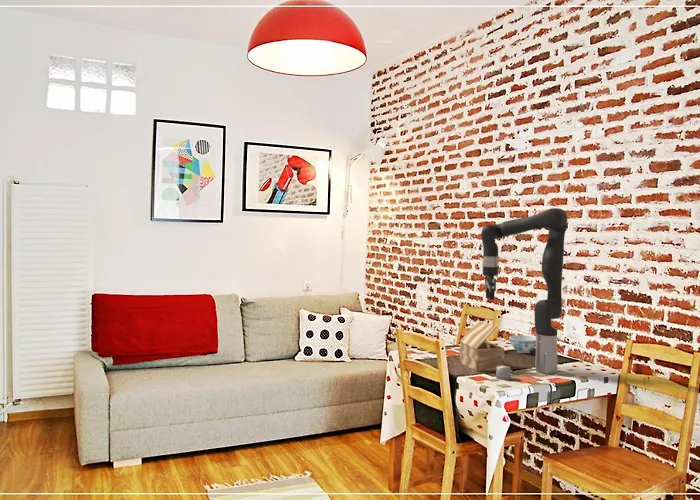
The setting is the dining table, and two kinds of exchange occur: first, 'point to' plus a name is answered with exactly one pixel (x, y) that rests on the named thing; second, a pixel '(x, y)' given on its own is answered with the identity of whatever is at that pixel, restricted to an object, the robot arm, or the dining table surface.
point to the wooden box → (482, 356)
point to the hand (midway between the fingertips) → (489, 298)
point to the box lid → (478, 334)
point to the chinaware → (523, 343)
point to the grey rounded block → (503, 372)
